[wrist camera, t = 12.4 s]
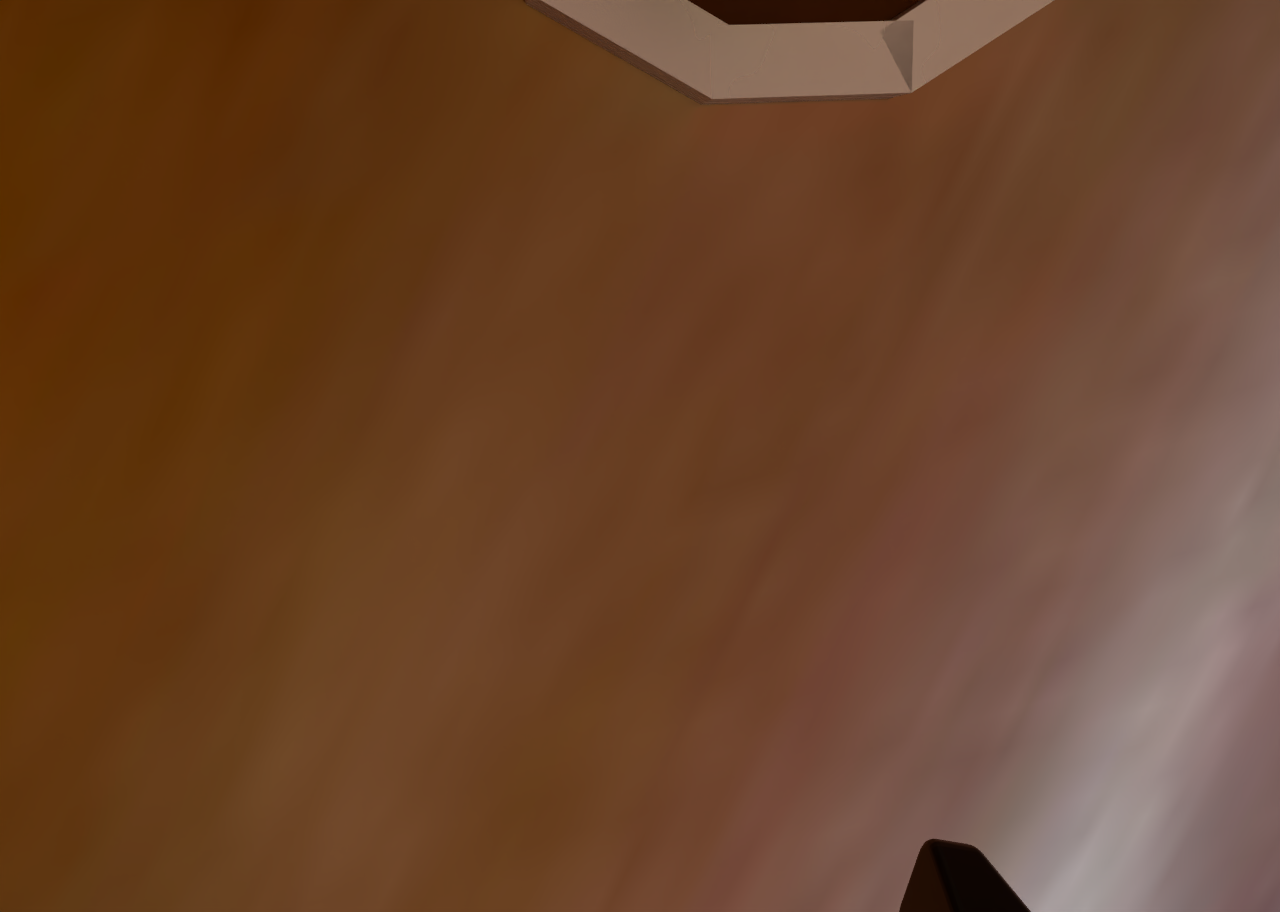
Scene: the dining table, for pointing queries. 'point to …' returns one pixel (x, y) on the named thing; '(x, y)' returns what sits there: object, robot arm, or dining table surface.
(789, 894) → the dining table surface
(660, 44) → the white faceted ring
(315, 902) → the dining table surface
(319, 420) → the dining table surface
